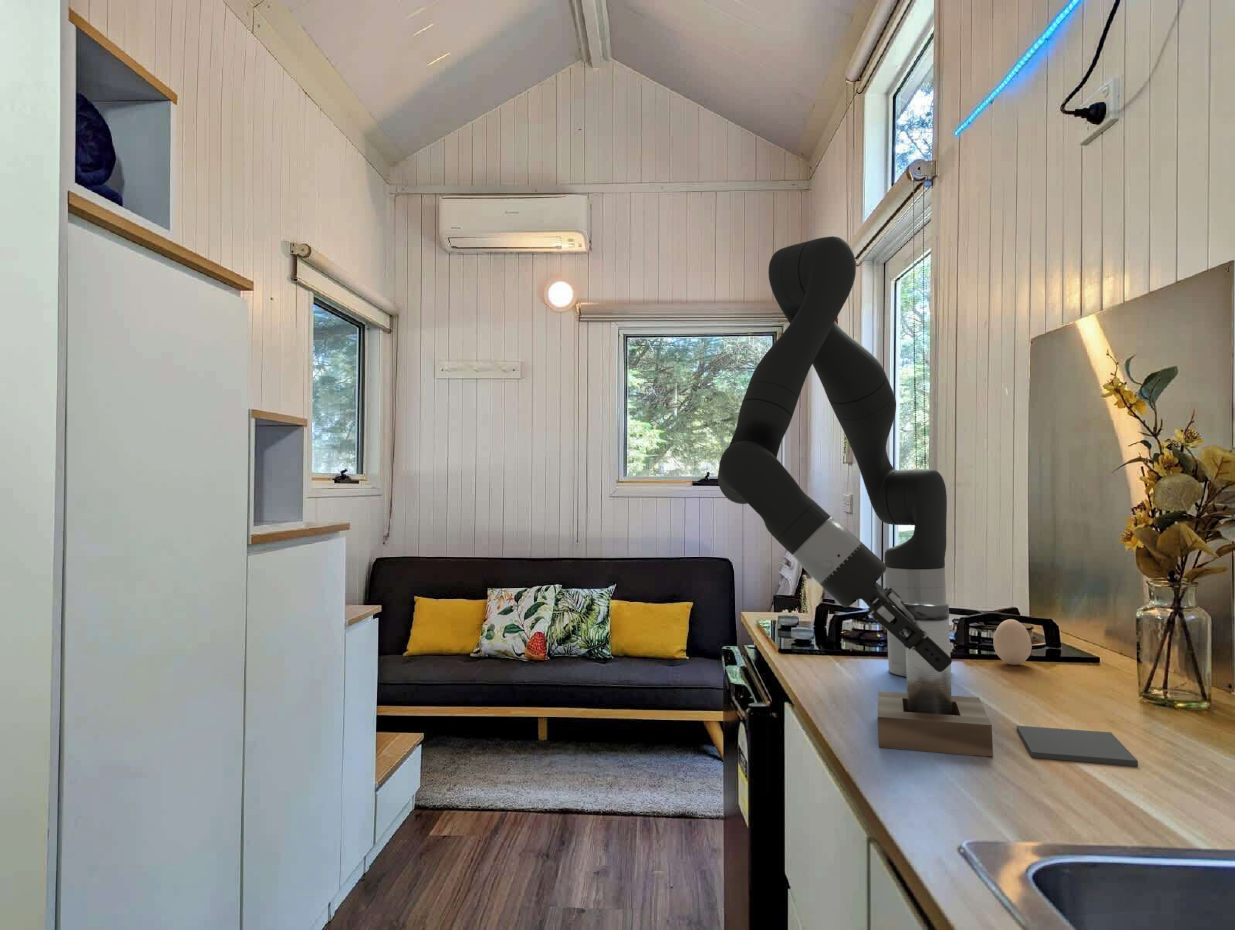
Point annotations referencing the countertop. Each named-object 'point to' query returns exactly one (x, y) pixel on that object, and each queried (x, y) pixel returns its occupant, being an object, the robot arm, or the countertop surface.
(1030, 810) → the countertop surface
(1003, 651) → the egg
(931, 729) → the walnut holder
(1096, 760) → the rubber mat
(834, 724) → the countertop surface
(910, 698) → the grey lidded canister
